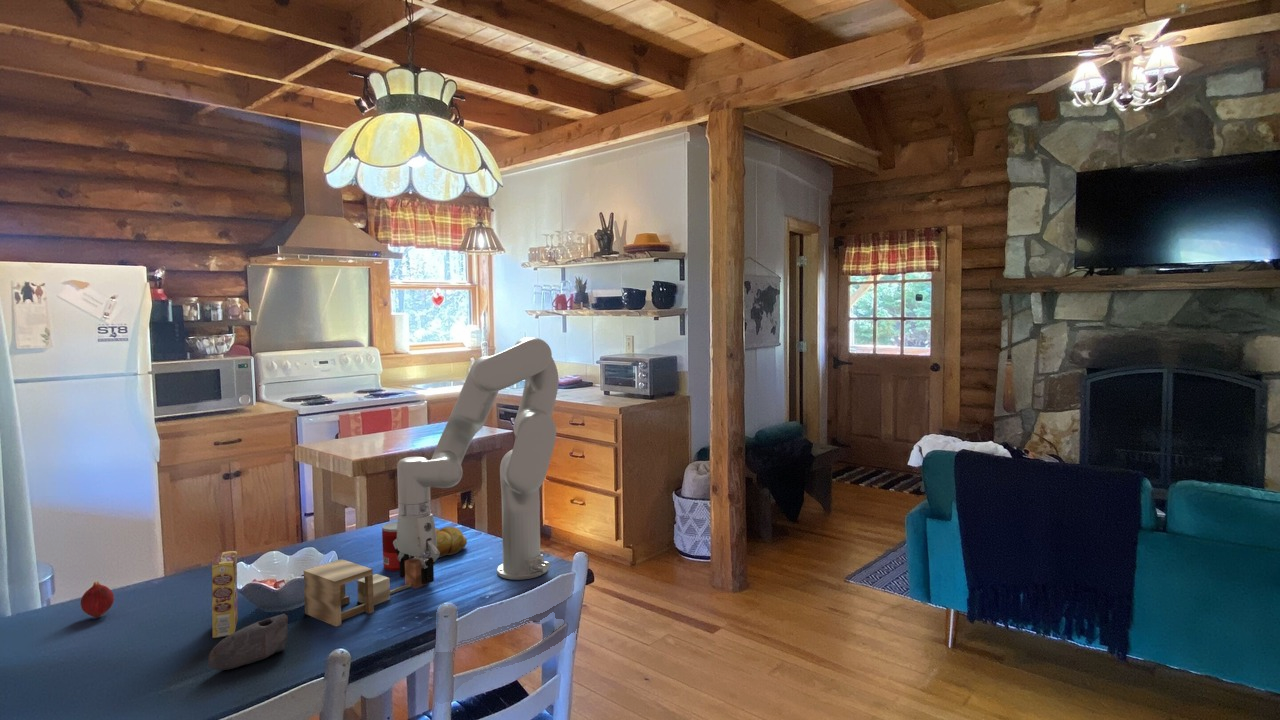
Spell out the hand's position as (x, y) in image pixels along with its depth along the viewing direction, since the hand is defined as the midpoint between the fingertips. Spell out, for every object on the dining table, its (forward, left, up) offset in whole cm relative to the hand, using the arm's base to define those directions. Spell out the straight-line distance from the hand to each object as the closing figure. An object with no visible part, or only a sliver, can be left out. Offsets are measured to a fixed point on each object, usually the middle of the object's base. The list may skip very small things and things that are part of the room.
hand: (416, 578), depth 172 cm
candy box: (+13, +39, -2) cm, 41 cm away
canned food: (+15, -5, -2) cm, 16 cm away
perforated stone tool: (-6, +43, -2) cm, 43 cm away
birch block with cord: (0, +6, -1) cm, 6 cm away
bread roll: (+13, -20, -2) cm, 23 cm away
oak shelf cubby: (0, +21, -1) cm, 21 cm away
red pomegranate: (+43, +52, -2) cm, 67 cm away
